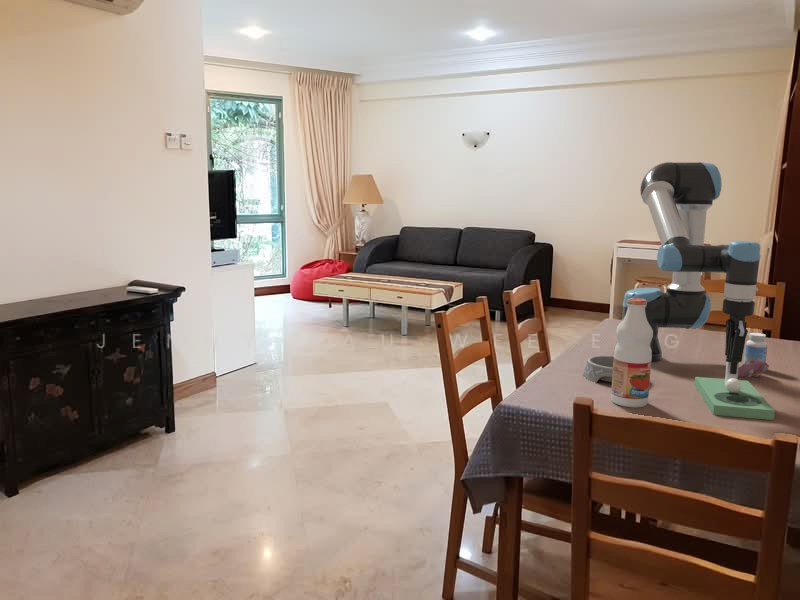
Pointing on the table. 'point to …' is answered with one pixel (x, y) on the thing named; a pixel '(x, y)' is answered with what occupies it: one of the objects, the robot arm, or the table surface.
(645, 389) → the fruit juice
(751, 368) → the video game controller
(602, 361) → the dog bowl
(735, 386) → the ball
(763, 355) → the pill bottle
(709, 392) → the mat
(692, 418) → the table surface
